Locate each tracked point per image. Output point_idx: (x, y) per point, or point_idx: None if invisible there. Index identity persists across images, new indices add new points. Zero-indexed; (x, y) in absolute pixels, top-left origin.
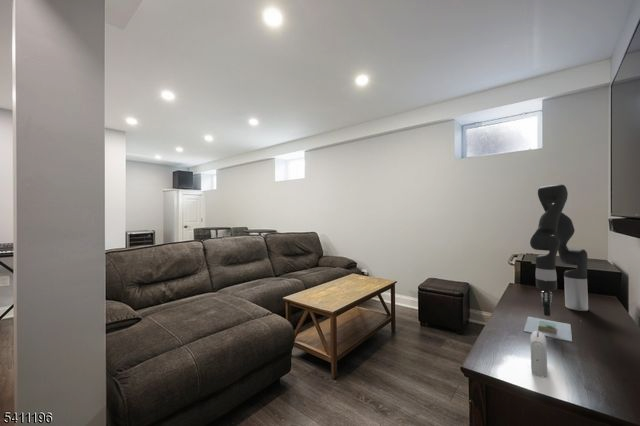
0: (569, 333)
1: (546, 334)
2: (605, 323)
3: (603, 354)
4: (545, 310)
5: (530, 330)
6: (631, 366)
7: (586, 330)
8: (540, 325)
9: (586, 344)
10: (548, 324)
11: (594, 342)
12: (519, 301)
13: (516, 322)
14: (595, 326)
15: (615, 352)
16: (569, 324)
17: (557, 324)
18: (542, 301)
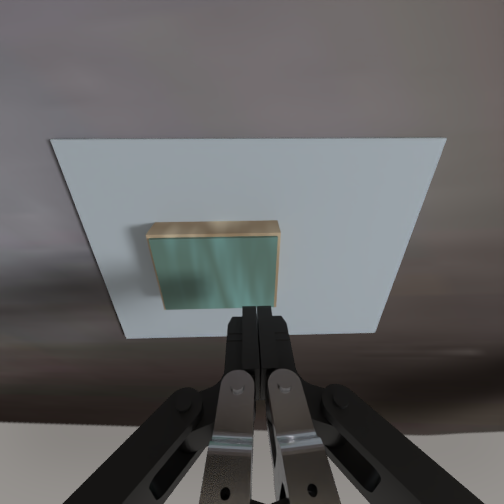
0: (226, 331)
1: (116, 260)
2: (453, 399)
3: (94, 390)
4: (227, 353)
5: (103, 181)
6: (67, 421)
7: (328, 364)
8: (163, 247)
9: (150, 364)
10: (226, 282)
11: (197, 378)
12: None
13: (239, 56)
14: (400, 382)
15: (148, 406)
16: (370, 329)
17: (340, 293)
18: (208, 457)
